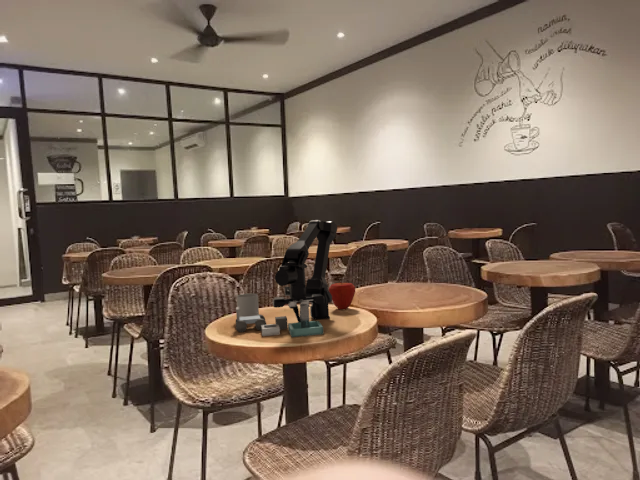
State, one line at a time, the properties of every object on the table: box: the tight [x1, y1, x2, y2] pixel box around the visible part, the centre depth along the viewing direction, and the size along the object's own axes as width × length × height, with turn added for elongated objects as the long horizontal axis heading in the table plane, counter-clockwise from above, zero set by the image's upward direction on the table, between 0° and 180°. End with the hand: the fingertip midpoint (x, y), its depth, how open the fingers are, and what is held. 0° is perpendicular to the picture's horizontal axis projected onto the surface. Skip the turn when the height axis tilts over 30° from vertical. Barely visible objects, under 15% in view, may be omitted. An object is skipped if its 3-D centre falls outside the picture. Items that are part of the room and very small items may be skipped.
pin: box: [299, 304, 310, 328], centre depth 169 cm, size 3×3×9 cm
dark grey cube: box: [274, 315, 288, 331], centre depth 177 cm, size 4×4×4 cm
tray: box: [287, 320, 324, 338], centre depth 169 cm, size 11×10×2 cm
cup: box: [236, 293, 260, 317], centre depth 193 cm, size 8×8×10 cm
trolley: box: [235, 306, 267, 333], centre depth 179 cm, size 11×9×8 cm
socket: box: [261, 323, 281, 337], centre depth 170 cm, size 6×6×2 cm
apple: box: [328, 281, 356, 310], centre depth 206 cm, size 11×11×12 cm
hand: (299, 323), depth 178 cm, fingers closed
